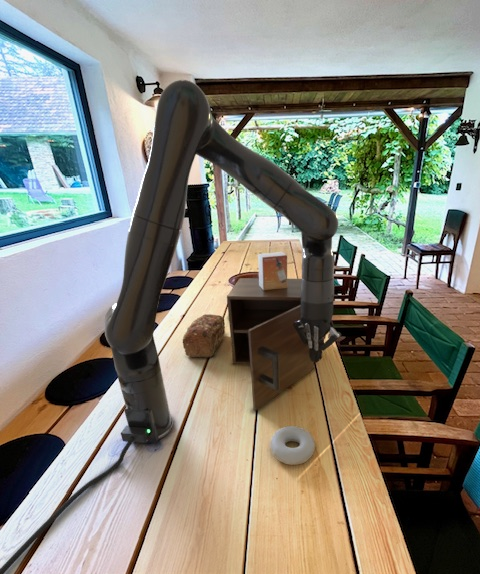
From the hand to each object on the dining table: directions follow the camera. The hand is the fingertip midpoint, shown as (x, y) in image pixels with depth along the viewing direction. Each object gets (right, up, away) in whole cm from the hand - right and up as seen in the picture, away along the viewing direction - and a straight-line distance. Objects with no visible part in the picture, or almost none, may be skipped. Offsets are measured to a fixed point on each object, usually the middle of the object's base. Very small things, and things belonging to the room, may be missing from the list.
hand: (315, 360), depth 81 cm
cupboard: (-9, -1, +32) cm, 33 cm away
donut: (-6, -19, -8) cm, 22 cm away
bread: (-35, +1, +38) cm, 52 cm away
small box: (-10, +21, +22) cm, 32 cm away
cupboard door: (-5, -10, +11) cm, 15 cm away
